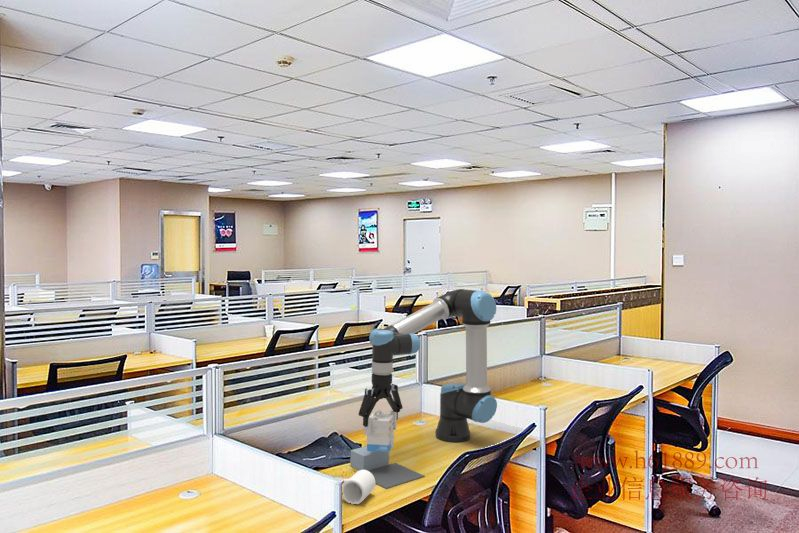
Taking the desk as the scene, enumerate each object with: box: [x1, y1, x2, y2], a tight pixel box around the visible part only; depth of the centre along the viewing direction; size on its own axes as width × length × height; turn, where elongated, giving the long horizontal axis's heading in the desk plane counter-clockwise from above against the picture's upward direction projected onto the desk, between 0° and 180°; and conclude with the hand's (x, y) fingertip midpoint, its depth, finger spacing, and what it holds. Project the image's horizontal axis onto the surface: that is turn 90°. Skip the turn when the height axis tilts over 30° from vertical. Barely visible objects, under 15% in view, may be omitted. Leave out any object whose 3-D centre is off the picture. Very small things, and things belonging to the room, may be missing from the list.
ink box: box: [366, 408, 395, 453], centre depth 228 cm, size 9×8×13 cm
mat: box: [369, 462, 425, 490], centre depth 224 cm, size 18×16×1 cm
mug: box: [342, 470, 376, 505], centre depth 204 cm, size 12×10×8 cm
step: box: [349, 445, 390, 471], centre depth 233 cm, size 12×8×6 cm, turn 131°
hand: (380, 431), depth 228 cm, fingers closed on ink box, 12 cm apart
